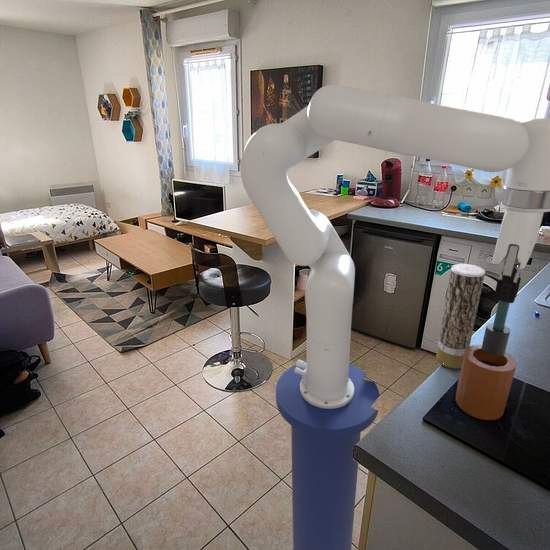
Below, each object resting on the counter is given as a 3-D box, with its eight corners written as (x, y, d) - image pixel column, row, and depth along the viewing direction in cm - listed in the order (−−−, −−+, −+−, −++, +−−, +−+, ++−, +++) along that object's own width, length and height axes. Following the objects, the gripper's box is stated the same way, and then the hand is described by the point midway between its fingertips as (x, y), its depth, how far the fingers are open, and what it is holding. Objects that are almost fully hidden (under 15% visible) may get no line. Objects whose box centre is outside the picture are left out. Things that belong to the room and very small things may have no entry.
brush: (479, 351, 71) (496, 271, 65) (484, 342, 74) (501, 264, 68) (502, 358, 69) (523, 276, 63) (506, 348, 72) (526, 269, 65)
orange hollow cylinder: (450, 407, 77) (459, 359, 72) (461, 384, 83) (471, 339, 78) (498, 427, 71) (512, 377, 67) (507, 401, 78) (520, 354, 73)
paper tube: (465, 357, 92) (484, 265, 83) (465, 372, 87) (486, 276, 77) (436, 351, 95) (451, 262, 85) (435, 366, 89) (451, 272, 80)
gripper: (510, 190, 68) (491, 279, 75) (492, 205, 57) (472, 308, 64) (559, 193, 64) (534, 288, 71) (551, 210, 53) (522, 321, 60)
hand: (505, 297), depth 67 cm, fingers closed on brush
